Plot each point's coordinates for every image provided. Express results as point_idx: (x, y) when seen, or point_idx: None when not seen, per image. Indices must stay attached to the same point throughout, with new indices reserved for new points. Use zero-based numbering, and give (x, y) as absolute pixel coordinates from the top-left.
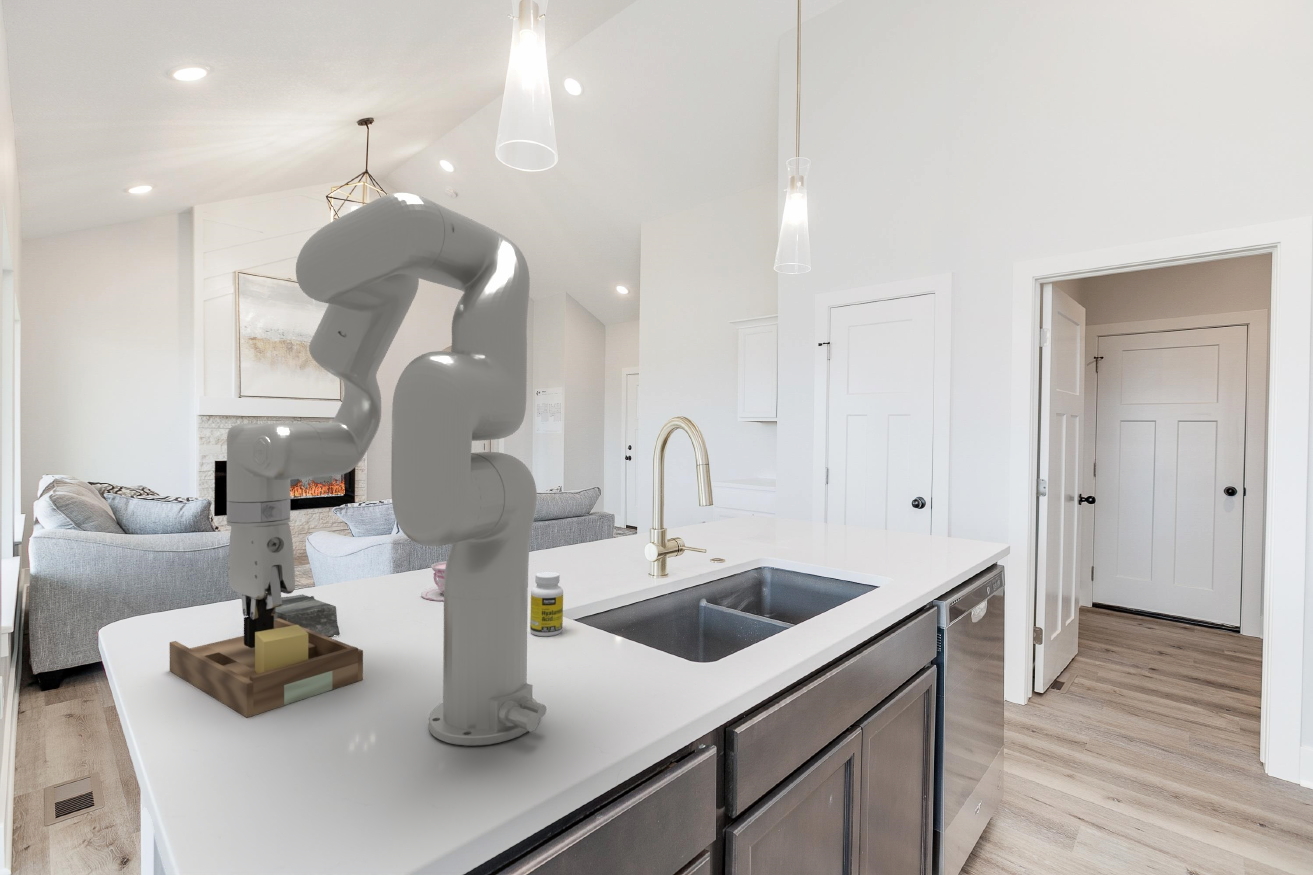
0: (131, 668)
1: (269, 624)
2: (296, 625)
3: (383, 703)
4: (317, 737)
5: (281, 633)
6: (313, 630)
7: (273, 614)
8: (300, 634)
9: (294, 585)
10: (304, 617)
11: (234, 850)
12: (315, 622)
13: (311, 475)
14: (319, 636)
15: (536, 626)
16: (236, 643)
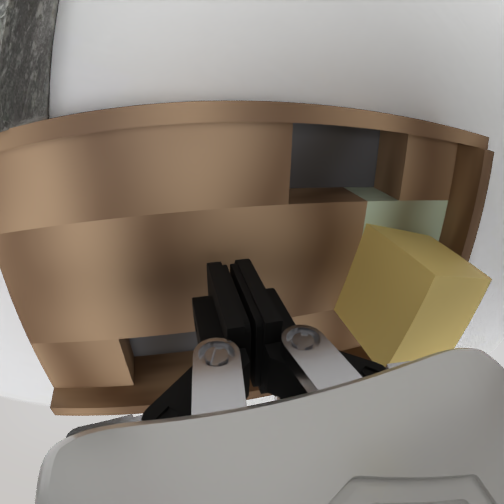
0: (19, 391)
1: (289, 316)
2: (436, 280)
3: (500, 172)
4: (486, 268)
5: (445, 326)
6: (39, 29)
7: (310, 330)
8: (482, 294)
9: (501, 366)
10: (11, 55)
11: (499, 339)
12: (30, 17)
13: None
14: (327, 122)
15: None
16: (61, 289)
